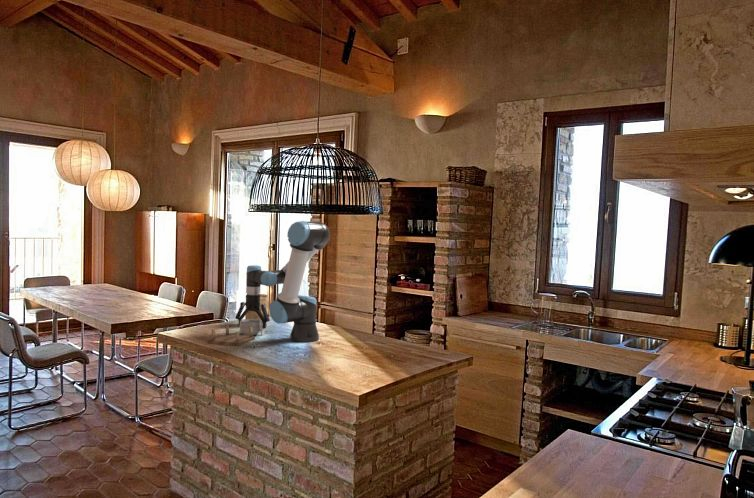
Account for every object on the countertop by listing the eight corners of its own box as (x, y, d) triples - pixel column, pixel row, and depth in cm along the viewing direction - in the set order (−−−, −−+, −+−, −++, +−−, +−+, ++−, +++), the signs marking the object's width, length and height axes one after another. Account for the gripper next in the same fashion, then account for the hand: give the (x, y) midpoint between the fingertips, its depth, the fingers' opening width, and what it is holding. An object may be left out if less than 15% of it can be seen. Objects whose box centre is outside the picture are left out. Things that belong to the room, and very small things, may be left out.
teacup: (238, 336, 294) (239, 321, 293) (241, 332, 304) (241, 318, 304) (265, 337, 295) (265, 322, 295) (267, 332, 306) (267, 318, 306)
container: (271, 325, 327) (272, 295, 326) (256, 328, 316) (256, 297, 315) (255, 322, 333) (256, 293, 332) (240, 325, 323) (241, 295, 322)
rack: (255, 339, 289) (255, 326, 289) (238, 346, 273) (238, 333, 272) (226, 336, 294) (226, 324, 293) (208, 343, 277) (208, 330, 277)
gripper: (276, 294, 299) (275, 334, 301) (236, 291, 306) (235, 329, 307) (270, 296, 292) (269, 336, 293) (229, 293, 298) (228, 332, 300)
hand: (251, 333), depth 300 cm, fingers closed on teacup, 12 cm apart
